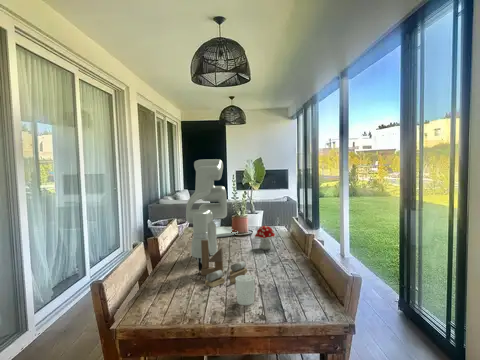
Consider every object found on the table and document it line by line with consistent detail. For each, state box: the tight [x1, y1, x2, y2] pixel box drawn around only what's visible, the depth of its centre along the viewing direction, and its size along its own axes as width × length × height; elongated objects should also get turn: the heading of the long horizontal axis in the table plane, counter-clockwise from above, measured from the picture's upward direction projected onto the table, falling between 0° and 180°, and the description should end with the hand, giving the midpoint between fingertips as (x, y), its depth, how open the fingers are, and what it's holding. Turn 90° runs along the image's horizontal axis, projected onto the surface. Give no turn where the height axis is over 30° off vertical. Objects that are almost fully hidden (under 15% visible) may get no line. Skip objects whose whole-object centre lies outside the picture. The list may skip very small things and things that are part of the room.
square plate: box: [216, 226, 239, 238], centre depth 277 cm, size 27×27×4 cm
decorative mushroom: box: [254, 225, 276, 251], centre depth 229 cm, size 14×14×15 cm
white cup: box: [235, 274, 256, 306], centre depth 142 cm, size 8×8×10 cm
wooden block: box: [200, 239, 224, 277], centre depth 178 cm, size 4×11×18 cm, turn 84°
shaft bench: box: [204, 260, 248, 288], centre depth 171 cm, size 10×26×6 cm, turn 142°
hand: (201, 270), depth 183 cm, fingers closed
